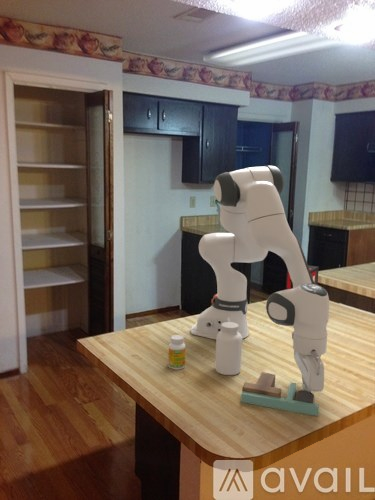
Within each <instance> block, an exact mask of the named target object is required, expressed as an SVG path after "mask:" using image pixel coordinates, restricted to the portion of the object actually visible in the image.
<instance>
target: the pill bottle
mask: <svg viewBox="0 0 375 500" xmlns="http://www.w3.org/2000/svg"><path fill="white" fill-rule="evenodd" d="M215 340H216V342H215V365H214V367H215V368H214V369H215V371H216V372H217V373H218V374H221V375H225V376H234V375H238V374H239V373H241V369H242V368H241V367H242V350H243V338H242V336H241V334H240V333H239V332H238V324H236V323H233V322H224V323H222V324H221V331H220V332H219V333H218V334H217V337H216V339H215Z"/></svg>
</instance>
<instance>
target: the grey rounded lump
mask: <svg viewBox="0 0 375 500" xmlns="http://www.w3.org/2000/svg"><path fill="white" fill-rule="evenodd" d="M295 401H301V402H307V403H312V404H314V403H315V402H314V401H315V394H314V393H312V391H311V392H309V391H305V390H304V389H303V390H297V391H296V392H295Z"/></svg>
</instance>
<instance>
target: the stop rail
mask: <svg viewBox="0 0 375 500" xmlns="http://www.w3.org/2000/svg"><path fill="white" fill-rule="evenodd" d="M296 385H297V383H296V382H290V383H289V388H288V391H287V395H286V397H285V398H284V397H281V398H278V397H273V396H267V395H261V394H256V393H250V392H244V391H241V394H240V402H241V403H244V404H251V405H256V406H260V407H265V408H267V407H268V408H271V409H276V410H283V411H287V412H294V413H298V414H299V413H300V414H304V415H309V416H314V415H315V416H316V417H319V410H320V409H319V408H320V404H317V403H313V404H312V403H307V402H301V401H296V399H295V397H296V392H297V391H296V390H297V389H296V387H297V386H296Z"/></svg>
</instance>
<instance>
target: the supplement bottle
mask: <svg viewBox="0 0 375 500" xmlns="http://www.w3.org/2000/svg"><path fill="white" fill-rule="evenodd" d="M186 348H187V347H186V344H185V342H184V336H183V335H181V334H173V335H171V336H170V343H168V352H167V353H168V356H167V357H168V367H169V368H170V369H172V370H182V369H185V367H186Z"/></svg>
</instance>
